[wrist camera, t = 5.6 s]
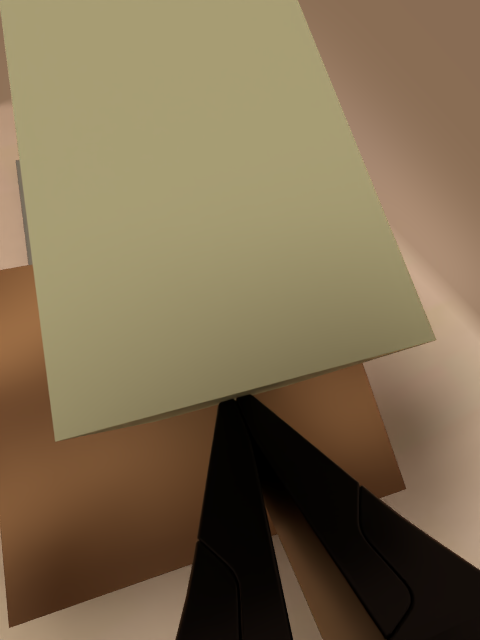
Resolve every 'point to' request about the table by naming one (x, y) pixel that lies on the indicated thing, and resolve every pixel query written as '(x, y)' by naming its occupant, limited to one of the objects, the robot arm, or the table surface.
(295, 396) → the panel
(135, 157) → the card box
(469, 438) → the table surface
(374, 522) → the robot arm
